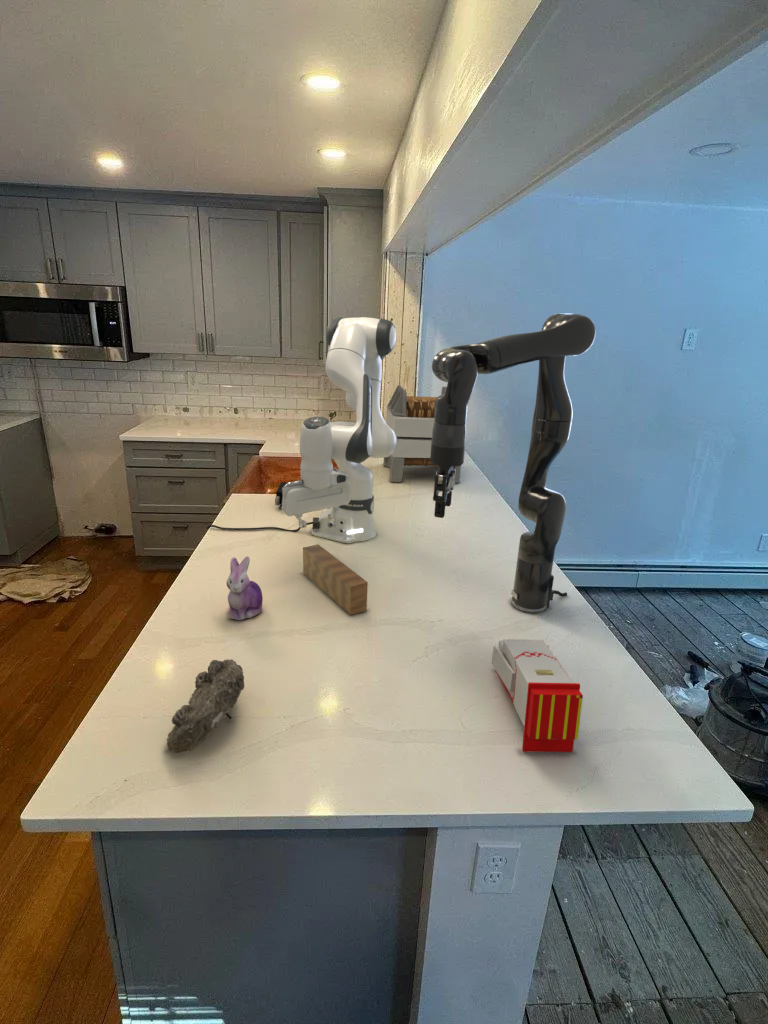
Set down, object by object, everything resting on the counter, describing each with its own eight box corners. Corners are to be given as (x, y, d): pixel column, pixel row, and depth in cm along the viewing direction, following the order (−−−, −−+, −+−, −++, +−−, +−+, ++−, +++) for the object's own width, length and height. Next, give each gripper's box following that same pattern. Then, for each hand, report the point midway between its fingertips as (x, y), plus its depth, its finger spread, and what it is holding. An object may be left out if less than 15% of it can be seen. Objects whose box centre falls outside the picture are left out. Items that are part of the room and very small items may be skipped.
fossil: (192, 660, 117) (244, 628, 112) (224, 691, 120) (276, 661, 115) (142, 746, 98) (202, 712, 93) (182, 779, 101) (242, 748, 96)
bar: (302, 573, 167) (302, 547, 165) (318, 569, 170) (318, 544, 167) (350, 615, 146) (351, 586, 143) (366, 610, 149) (367, 582, 146)
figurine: (231, 625, 139) (228, 569, 133) (222, 606, 147) (219, 553, 142) (269, 617, 143) (267, 563, 138) (258, 599, 151) (256, 547, 146)
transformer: (382, 463, 289) (386, 382, 275) (445, 464, 293) (451, 384, 279) (390, 482, 257) (394, 392, 243) (460, 483, 261) (468, 394, 247)
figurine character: (292, 514, 217) (296, 498, 230) (291, 496, 214) (296, 480, 227) (274, 514, 217) (280, 497, 230) (273, 496, 213) (279, 480, 227)
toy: (540, 622, 128) (592, 691, 98) (535, 677, 130) (584, 759, 101) (487, 621, 127) (523, 690, 98) (483, 676, 130) (516, 758, 101)
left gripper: (287, 487, 148) (288, 535, 153) (353, 474, 159) (353, 520, 164) (276, 480, 152) (278, 527, 158) (342, 468, 163) (342, 513, 169)
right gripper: (460, 451, 118) (453, 523, 124) (469, 437, 131) (463, 504, 137) (425, 447, 120) (420, 519, 126) (437, 434, 133) (432, 500, 139)
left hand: (317, 523), depth 161 cm, fingers open, 8 cm apart
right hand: (442, 511), depth 131 cm, fingers open, 8 cm apart
